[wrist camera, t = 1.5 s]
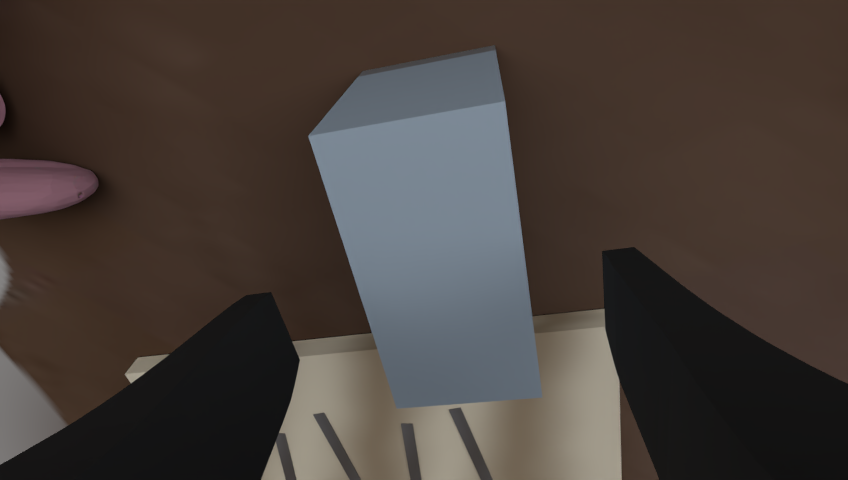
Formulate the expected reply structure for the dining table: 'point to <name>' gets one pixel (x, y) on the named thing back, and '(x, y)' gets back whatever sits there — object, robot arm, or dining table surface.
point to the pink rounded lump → (40, 184)
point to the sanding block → (434, 227)
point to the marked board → (450, 416)
